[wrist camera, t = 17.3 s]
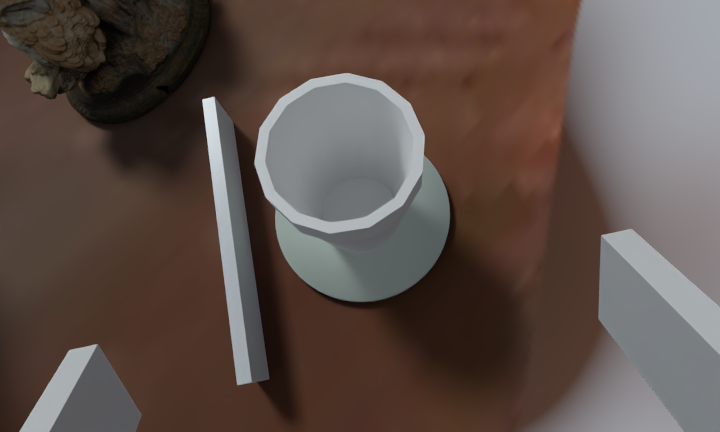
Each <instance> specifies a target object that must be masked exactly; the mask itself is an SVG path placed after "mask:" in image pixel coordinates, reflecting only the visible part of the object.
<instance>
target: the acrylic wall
mask: <svg viewBox="0 0 720 432" xmlns="http://www.w3.org/2000/svg"><path fill="white" fill-rule="evenodd" d="M202 102H203V110H204V118H205V126H206V134H207V142H208V151H209V159H210V167H211V175H212V183H213V191H214V200H215V208H216V216H217V224H218V232H219V240H220V248H221V257H222V265H223V273H224V281H225V289H226V297H227V305H228V314H229V322H230V330H231V338H232V346H233V354H234V363H235V371H236V379H237V385H241V384H248V383H254V382H259V381H264V380H269V372H268V365H267V358H266V351H265V344H264V337H263V330H262V323H261V315H260V308H259V301H258V294H257V287H256V280H255V273H254V266H253V259H252V252H251V245H250V237H249V230H248V223H247V216H246V209H245V202H244V195H243V188H242V181H241V174H240V167H239V159H238V152H237V145H236V138H235V131H234V124H233V121H232V120H231V119H230V117H229V116H228V114H227V113H226V112H225V110H224V109H223V108H222V106H221V105H220V104H219V102H218V101H217V100H216V98H215V97H211V98H206V99H202Z"/></svg>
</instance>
